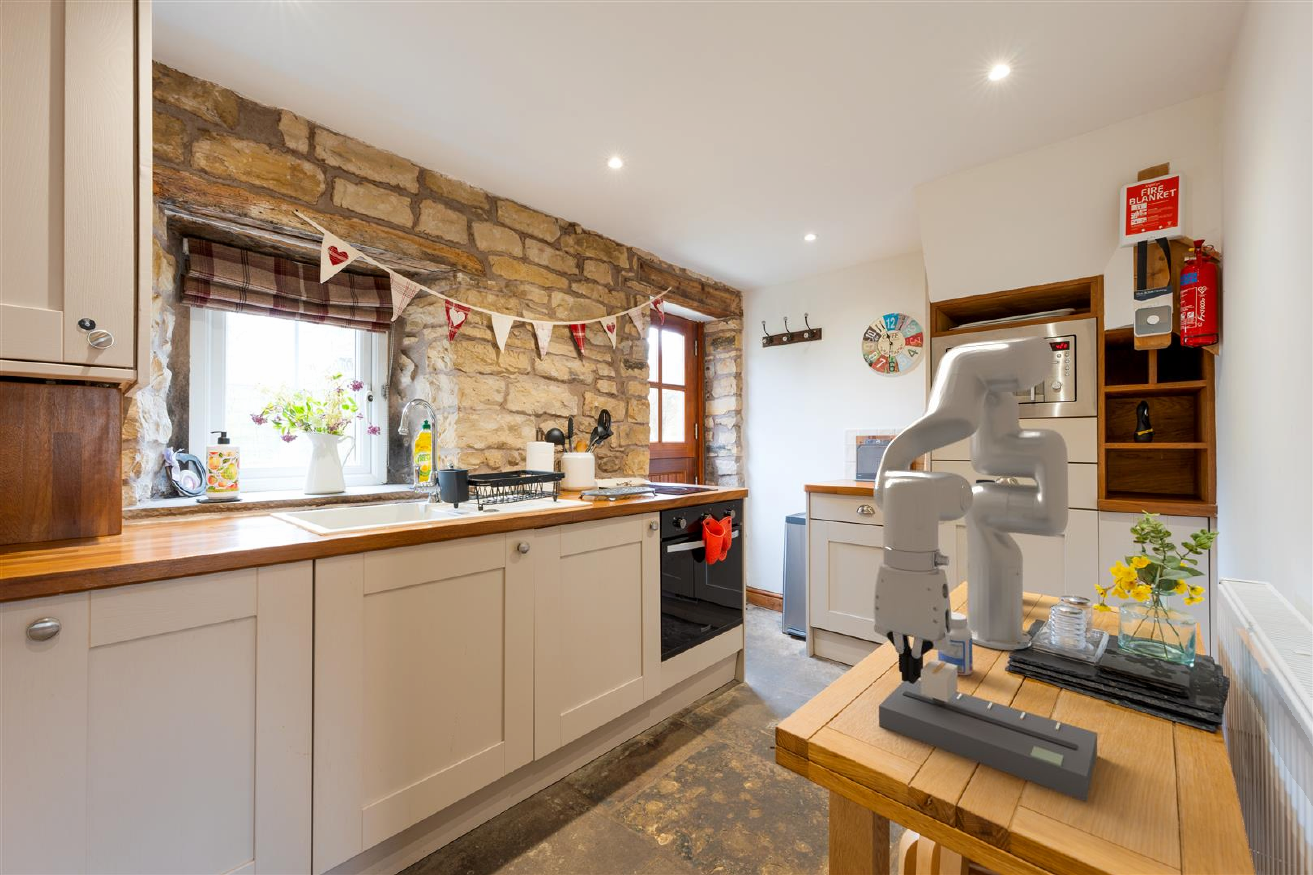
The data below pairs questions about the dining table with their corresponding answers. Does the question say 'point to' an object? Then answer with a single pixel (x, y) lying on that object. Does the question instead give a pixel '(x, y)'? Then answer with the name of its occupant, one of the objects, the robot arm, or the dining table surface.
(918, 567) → the robot arm
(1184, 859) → the dining table surface
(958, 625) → the pill bottle
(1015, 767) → the console
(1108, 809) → the dining table surface
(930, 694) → the fader
